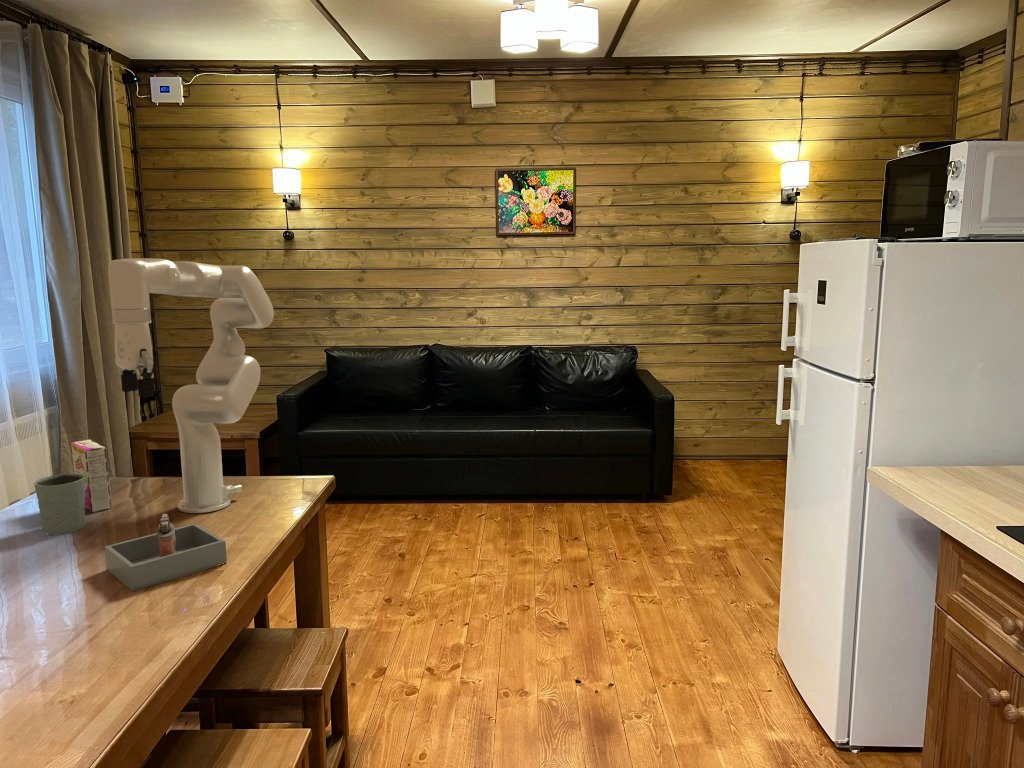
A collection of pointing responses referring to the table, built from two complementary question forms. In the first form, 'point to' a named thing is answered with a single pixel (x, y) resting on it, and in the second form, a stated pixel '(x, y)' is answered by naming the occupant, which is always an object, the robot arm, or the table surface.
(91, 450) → the candy bar box
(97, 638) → the table surface
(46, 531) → the green plant pot
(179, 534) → the bin
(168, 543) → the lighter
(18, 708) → the table surface
